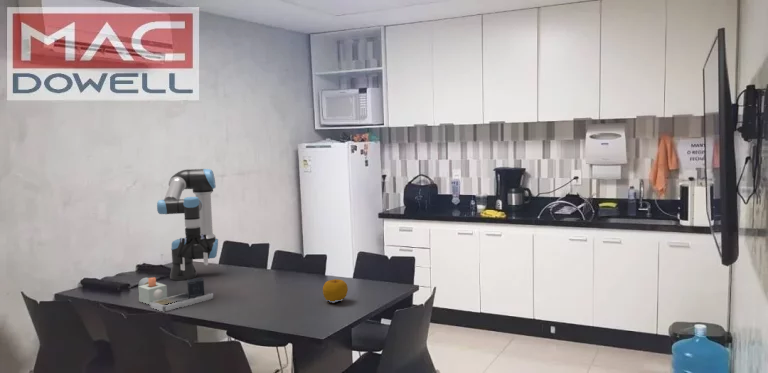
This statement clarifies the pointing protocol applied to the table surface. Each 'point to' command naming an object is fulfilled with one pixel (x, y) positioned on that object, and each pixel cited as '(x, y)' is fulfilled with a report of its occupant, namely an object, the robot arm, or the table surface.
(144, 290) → the cabinet
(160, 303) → the rail
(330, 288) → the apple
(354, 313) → the table surface
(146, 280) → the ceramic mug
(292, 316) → the table surface
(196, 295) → the box
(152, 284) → the gauge plunger
